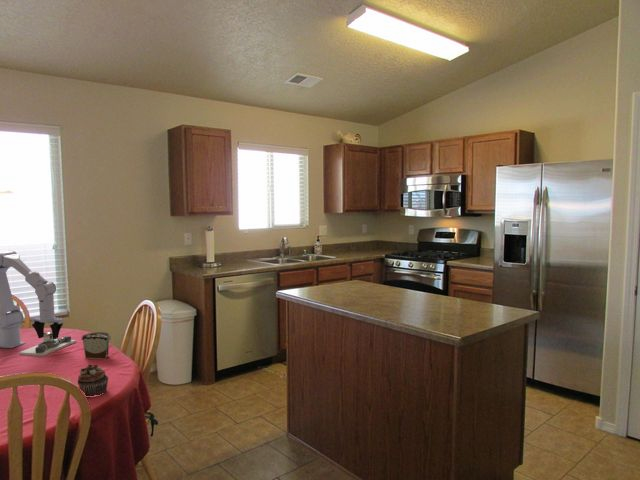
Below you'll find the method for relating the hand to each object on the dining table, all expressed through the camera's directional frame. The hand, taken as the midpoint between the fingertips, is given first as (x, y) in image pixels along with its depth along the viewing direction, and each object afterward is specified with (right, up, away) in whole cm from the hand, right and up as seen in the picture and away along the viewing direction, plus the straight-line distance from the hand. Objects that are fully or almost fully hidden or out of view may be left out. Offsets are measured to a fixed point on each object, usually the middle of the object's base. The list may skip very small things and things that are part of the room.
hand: (48, 338), depth 205 cm
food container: (+29, -6, -10) cm, 31 cm away
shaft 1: (+1, -5, -6) cm, 8 cm away
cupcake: (+45, -9, -47) cm, 66 cm away
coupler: (0, -4, +1) cm, 4 cm away
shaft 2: (+4, -4, +6) cm, 8 cm away
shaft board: (0, -5, 0) cm, 5 cm away
